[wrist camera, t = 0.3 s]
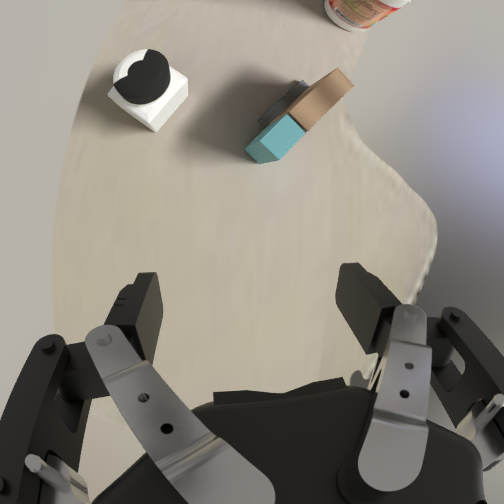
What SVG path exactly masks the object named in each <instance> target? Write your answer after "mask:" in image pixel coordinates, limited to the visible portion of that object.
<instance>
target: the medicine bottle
mask: <svg viewBox="0 0 504 504" xmlns="http://www.w3.org/2000/svg"><path fill="white" fill-rule="evenodd" d="M113 84H114V86H113V87H112V89H111V90H110V91H109V92H108V96H109V97H110V98H111V99H112V100H113V101H114V102H115V103H116V104H117V105H118V106H120V107H121V108H122V109H123V110H125V111H126V112H127V113H129V114H130V115H132V116H133V117H134V118H136V119H137V120H138V121H140V122H141V123H143V124H144V125H145V126H147V127H148V128H149V129H151V130H152V131H154V132H157V131H158V130H159V129H160V127H161V126H162V125H163V124H164V123H165V121H166V120H167V119H168V118H169V117H170V116H171V114H172V113H173V112H174V111H175V110H176V109H177V108H178V106H179V105H180V104H181V103H182V102H183V101H184V100H185V99H186V98H187V97H188V79H187V78H186V77H185V76H183V75H182V74H180V73H179V72H177V71H176V70H174V69H173V68H171V67H170V66H169V64H168V61H167V59H166V58H165V56H164V55H162V54H161V53H160V52H158V51H155V50H151V49H143V50H138V51H135V52H132V53H130V54H129V55H127V56H126V57H124V58H123V59H122V60H121V61H120V62H119V64H118V65H117V67H116V69H115V71H114V74H113Z"/></svg>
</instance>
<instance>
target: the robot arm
mask: <svg viewBox="0 0 504 504" xmlns="http://www.w3.org/2000/svg"><path fill="white" fill-rule="evenodd" d="M335 298H336V304H337V307H338V308H339V310H340V312H341V313H342V315H343V316H344V318H345V320H346V321H347V323H348V325H349V326H350V328H351V330H352V331H353V333H354V335H355V336H356V338H357V340H358V341H359V343H360V345H361V346H362V348H363V350H364V351H365V353H366V355H367V354H372V353H376V352H377V353H378V357H377V360H376V362H375V366H374V369H373V373H372V376H371V379H370V383H369V386H368V389H365V388H361V387H356V386H346V384H345V382H344V379H343V377H340V378H335V379H329V380H324V381H318V382H313V383H310V384H308V385H305V386H302V387H300V388H297V389H294V390H291V391H289V392H286V393H268V392H258V391H249V390H243V391H226V392H213V397H214V401H213V402H209V403H206V404H203V405H200V406H198V407H196V408H194V409H192V410H191V411H190V410H189V409H188V408H187V406H186V405H185V404H184V403H183V402H182V401H181V400H180V399H179V398H178V396H177V395H176V394H175V393H174V392H173V391H172V389H171V388H170V387H169V386H168V385H167V384H166V382H165V381H164V380H163V379H162V378H161V376H160V375H159V374H158V373H157V371H156V370H155V369H154V368H153V366H152V364H153V359H154V354H155V350H156V345H157V340H158V336H159V331H160V327H161V323H162V318H163V303H162V298H161V292H160V287H159V281H158V276H157V273H156V272H147V273H138V275H137V277H136V279H135V281H134V284H128V285H127V286H125V287H124V288H123V289H122V290H121V291H120V292H119V294H118V296H117V298H116V300H115V302H114V304H113V306H112V308H111V310H110V312H109V315H108V317H107V319H106V321H105V323H104V325H102V326H99V327H96V328H94V329H93V330H91V331H90V332H89V333H88V334H87V336H86V338H85V342H80V343H75V344H69V345H66V343H65V340H64V339H63V337H62V336H60V335H57V334H52V335H47V336H45V337H43V338H41V339H39V341H37V342H36V344H35V345H34V347H33V349H32V351H31V353H30V354H29V356H28V358H27V360H26V362H25V365H24V366H23V368H22V370H21V372H20V375H19V377H18V379H17V381H16V383H15V385H14V388H13V390H12V392H11V395H10V397H9V399H8V402H7V404H6V407H5V409H4V412H3V415H2V417H1V420H0V504H91V502H90V501H89V497H88V490H87V485H86V482H85V481H84V479H83V478H82V477H81V476H80V475H79V474H78V468H79V462H80V455H81V449H82V443H83V438H84V433H85V428H86V423H87V418H88V414H89V410H90V405H91V401H92V399H94V398H100V397H105V396H111V397H112V399H113V401H114V402H115V404H116V406H117V408H118V409H119V411H120V413H121V414H122V416H123V417H124V419H125V421H126V422H127V424H128V425H129V427H130V429H131V430H132V432H133V433H134V435H135V436H136V438H137V439H138V440H139V442H140V443H141V445H142V446H143V448H144V449H145V451H146V453H145V454H143V455H142V456H141V457H140V458H139V459H138V460H137V461H136V462H135V463H134V464H133V465H132V466H131V467H130V468H129V469H127V471H125V472H124V473H123V474H122V475H121V476H120V477H119V478H118V479H117V480H115V481H114V482H113V483H112V484H111V485H110V486H109V487H107V488H106V489H105V490H104V491H103V492H102V493H101V494H100V495H98V496H97V497H96V498H95V499H94V501H93V502H92V504H487V502H486V500H485V495H484V488H483V471H488V470H490V469H491V468H492V467H494V466H495V465H496V464H498V463H499V462H500V461H501V460H503V459H504V357H503V355H502V354H501V353H500V352H499V351H498V349H497V348H496V347H495V346H494V345H493V344H492V342H491V341H490V340H489V339H488V338H487V336H486V335H485V334H484V333H483V332H482V331H481V330H480V329H479V327H478V326H477V325H476V324H475V323H474V322H473V321H472V320H471V319H470V318H469V317H468V316H467V314H465V312H463V311H462V310H460V309H458V308H454V307H446V308H444V309H443V310H442V312H441V315H440V317H439V318H435V317H426V314H425V313H424V312H423V311H422V310H421V309H420V308H418V307H416V306H414V305H410V304H402V303H401V302H400V301H399V300H398V299H397V298H396V297H395V295H394V294H393V293H392V292H391V291H390V290H388V288H387V287H386V286H385V285H383V283H382V281H381V280H380V279H379V278H378V277H376V276H374V275H373V274H371V273H369V272H367V271H366V270H365V269H364V268H363V267H362V266H361V265H360V264H359V263H343V264H342V265H341V267H340V271H339V277H338V283H337V289H336V295H335ZM455 350H457V351H458V353H459V354H460V355H461V357H462V358H463V360H464V361H465V371H464V373H463V375H461V373H460V372H459V371H458V369H457V368H456V366H455V365H454V363H453V362H452V360H451V358H452V356H453V354H454V352H455ZM430 384H431V385H432V387H433V389H434V391H435V392H436V394H437V396H438V397H439V399H440V401H441V403H442V405H443V406H444V408H445V410H446V411H447V414H448V415H449V417H450V419H451V421H452V423H453V424H454V426H455V428H456V433H454V432H452V431H450V430H448V429H446V428H444V427H442V426H440V425H437V424H435V423H433V422H431V421H429V420H427V419H426V415H427V407H428V398H429V389H430Z"/></svg>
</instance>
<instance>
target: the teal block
mask: <svg viewBox="0 0 504 504" xmlns="http://www.w3.org/2000/svg"><path fill="white" fill-rule="evenodd" d="M304 134H305V132H304V131H303V130H302V129H301V128H300V127H299V126H298V125H297V124H296V123H295V122H294V121H293V120H292V119H291V118H290V117H289V116H288V115H287V114H286V115H285V116H283V117H281V118H280V119H278V120H277V121H275V122H274V123H272V124H270V125H269V126H267V127H266V128H265V129H264V130H263V131H262V132H261V133H260V134H259V135H258V136H257V137H256V138H255V139H254V140H253V141H252V142H251V143H250V144H249V145H248V146H247V147H246V148H245V149H244V150H245V151H246V152H247V153H248V154H249V155H250V156H251V157H252V158H253V159H255V160H256V161H257V162H258V163H259V164H262V163H267V162H272V161H277V160H280V159H281V158H282V157H283V156H284V155H285V154H286V153H287V152H288V151H289V150H290V149H291V148H292V146H293V145H294V144H295V143H296V142H297V141H298V140H299V139H300V138H301V137H302V136H303V135H304Z"/></svg>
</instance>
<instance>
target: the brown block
mask: <svg viewBox="0 0 504 504" xmlns="http://www.w3.org/2000/svg"><path fill="white" fill-rule="evenodd" d="M353 86H354V85H353V84H352V83H351V81H350V80H349V79H348V78H347V77H346V76H345V75H344V74H343V73H342V72H341V71H340V69H339V68H337V69H335V70H334V71H332V72H331V73H329V74H328V75H326V76H324V77H323V78H321V79H320V80H318V81H317V82H316V83H314V84H313V85H311V86H310V87H309V86H308V85H307V84H306V83H305V82H304V81H303V80H301V81H300V82H299V83H298V84H297V85H296V86H295V87H293V88H292V89H291V90H290V91H289V92H288V93H287V94H286V95H285V96H283V97H282V98H281V99H280V100H279V101H278V102H277V103H276V104H275V105H274V106H273V107H272V108H270V109H269V110H268V111H267V112H266V113H265V114H264V115H263V116H262V117H261V118H260V119H259V121H261V122H262V123H263V124H264V125H265V126H266V127H267V126H269V125H270V124H272V123H274V122H275V121H277V120H278V119H280V118H281V117H283V116H285V115H286V114H287V115H288V116H289V117H290V118H291V119H292V120H293V121H294V122H295V123H296V124H297V125H298V126H299V127H300V128H301V129H302V130H303V131H304V132H307V131H309V130H310V128H311V127H312V126H313V125H314V124H315V123H316V122H317V121H318V120H319V119H320V118H321V117H322V116H323V115H324V114H325V113H326V112H327V111H328V110H329V109H330V108H331V107H333V106H334V105H335V104H336V103H337V102H338V101H339V100H340V99H341V98H342V97H343V96H344V95H345V94H346V93H347V92H348V91H349V90H350V89H351V88H352V87H353Z"/></svg>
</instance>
